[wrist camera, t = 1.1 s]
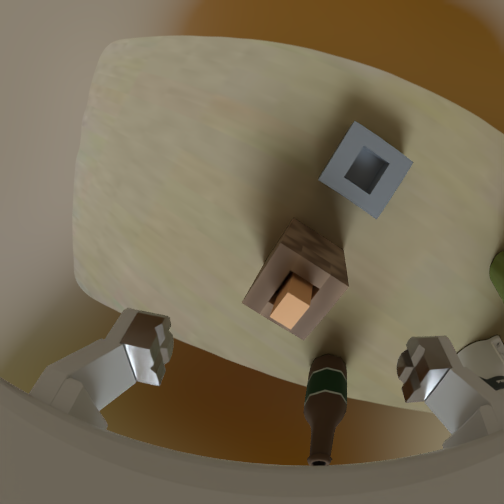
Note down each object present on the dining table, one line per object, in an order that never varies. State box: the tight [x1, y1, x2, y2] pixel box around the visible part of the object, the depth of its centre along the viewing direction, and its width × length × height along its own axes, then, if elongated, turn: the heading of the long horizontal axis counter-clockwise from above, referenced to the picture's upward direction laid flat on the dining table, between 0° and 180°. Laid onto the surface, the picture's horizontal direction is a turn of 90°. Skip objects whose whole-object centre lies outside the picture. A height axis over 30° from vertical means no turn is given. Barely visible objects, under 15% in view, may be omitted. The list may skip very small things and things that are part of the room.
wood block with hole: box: [242, 218, 349, 340], centre depth 42 cm, size 10×10×14 cm
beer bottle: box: [304, 354, 347, 466], centre depth 44 cm, size 8×8×24 cm
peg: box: [270, 271, 313, 329], centre depth 36 cm, size 3×4×8 cm
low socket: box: [318, 121, 413, 219], centre depth 39 cm, size 10×10×6 cm
